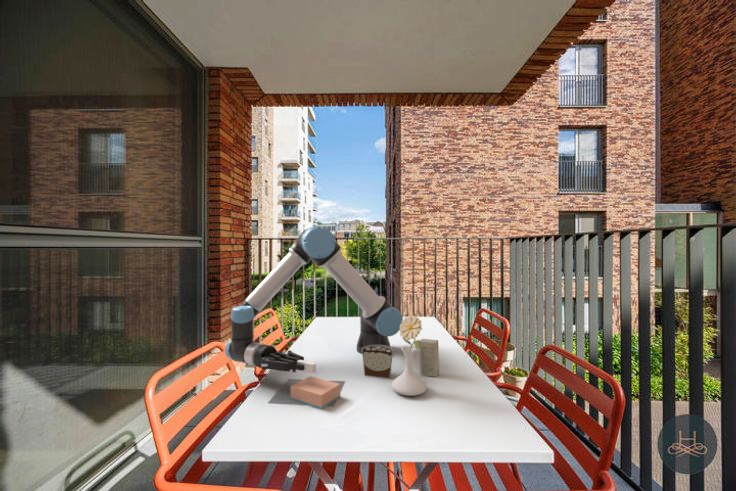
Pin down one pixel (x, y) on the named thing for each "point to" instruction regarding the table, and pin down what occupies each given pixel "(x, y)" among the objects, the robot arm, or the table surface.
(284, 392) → the mat
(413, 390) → the flower in vase
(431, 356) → the skincare box
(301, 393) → the salmon orange block
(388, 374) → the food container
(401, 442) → the table surface
